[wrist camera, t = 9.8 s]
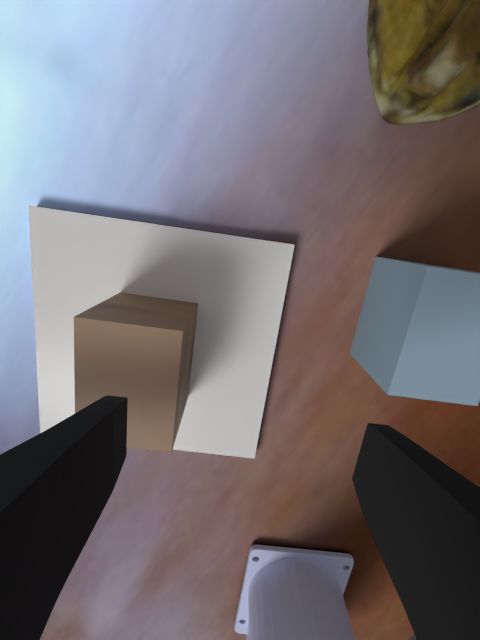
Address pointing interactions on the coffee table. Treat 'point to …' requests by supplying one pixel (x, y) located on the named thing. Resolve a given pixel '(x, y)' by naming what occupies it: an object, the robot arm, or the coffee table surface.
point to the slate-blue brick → (421, 331)
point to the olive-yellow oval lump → (424, 58)
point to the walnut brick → (137, 363)
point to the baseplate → (169, 283)
